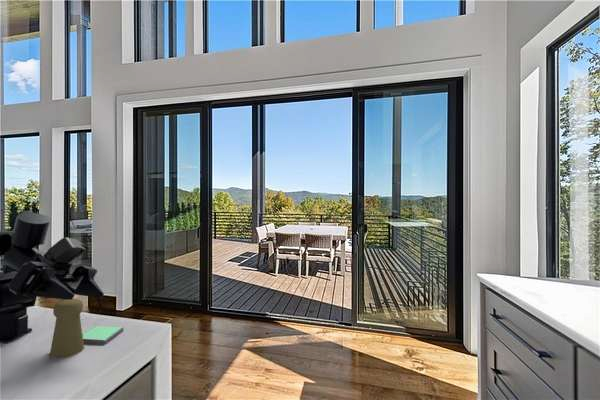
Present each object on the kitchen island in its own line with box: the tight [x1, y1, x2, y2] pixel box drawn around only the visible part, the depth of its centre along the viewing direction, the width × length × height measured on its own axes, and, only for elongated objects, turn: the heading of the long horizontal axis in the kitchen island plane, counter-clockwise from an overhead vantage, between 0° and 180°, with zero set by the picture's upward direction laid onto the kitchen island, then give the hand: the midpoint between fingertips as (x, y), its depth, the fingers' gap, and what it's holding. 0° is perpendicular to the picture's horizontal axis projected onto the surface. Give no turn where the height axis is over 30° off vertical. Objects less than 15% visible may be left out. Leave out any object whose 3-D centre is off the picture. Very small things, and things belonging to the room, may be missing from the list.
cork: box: [49, 298, 85, 359], centre depth 69 cm, size 6×6×11 cm
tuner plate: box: [82, 325, 124, 345], centre depth 76 cm, size 7×7×1 cm
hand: (88, 296), depth 68 cm, fingers open, 9 cm apart
